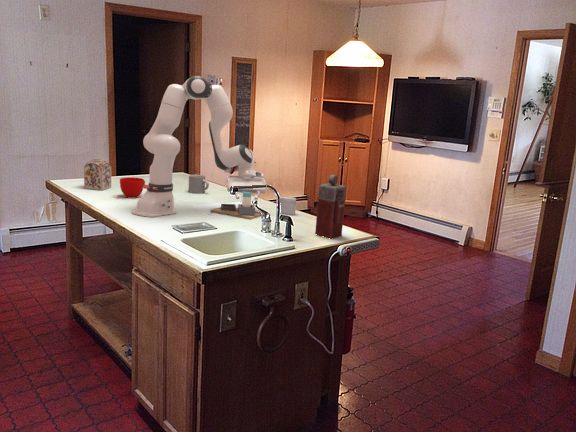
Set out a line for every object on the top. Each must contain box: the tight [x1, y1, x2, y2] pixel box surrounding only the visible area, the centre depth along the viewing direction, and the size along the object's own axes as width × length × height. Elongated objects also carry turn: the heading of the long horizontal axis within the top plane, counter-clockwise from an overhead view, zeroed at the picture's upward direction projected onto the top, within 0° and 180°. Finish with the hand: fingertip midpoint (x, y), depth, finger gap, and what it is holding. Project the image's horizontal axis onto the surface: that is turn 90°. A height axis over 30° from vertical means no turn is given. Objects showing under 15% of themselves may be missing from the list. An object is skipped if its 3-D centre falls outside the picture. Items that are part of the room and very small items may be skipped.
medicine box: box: [279, 196, 297, 216], centre depth 278 cm, size 8×4×9 cm, turn 74°
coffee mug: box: [188, 174, 210, 195], centre depth 319 cm, size 13×10×10 cm
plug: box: [241, 192, 252, 207], centre depth 267 cm, size 4×4×11 cm
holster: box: [220, 203, 237, 211], centre depth 276 cm, size 8×8×2 cm
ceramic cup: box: [119, 176, 146, 199], centre depth 295 cm, size 13×17×10 cm
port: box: [237, 203, 256, 216], centre depth 268 cm, size 8×8×4 cm
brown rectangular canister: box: [314, 174, 347, 240], centre depth 237 cm, size 9×11×28 cm
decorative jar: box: [83, 157, 112, 191], centre depth 310 cm, size 12×12×18 cm
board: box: [209, 206, 262, 220], centre depth 272 cm, size 14×24×1 cm, turn 63°
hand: (246, 198), depth 266 cm, fingers open, 8 cm apart
